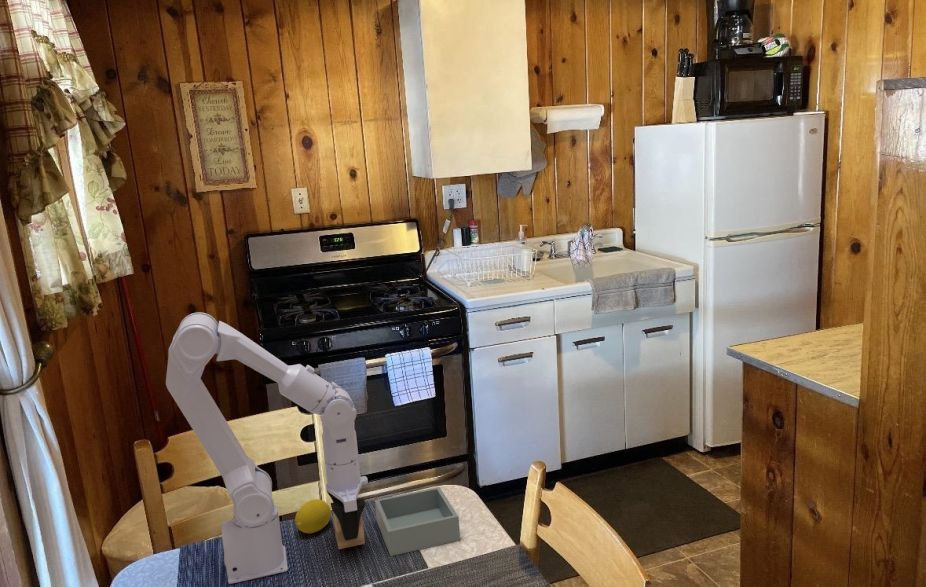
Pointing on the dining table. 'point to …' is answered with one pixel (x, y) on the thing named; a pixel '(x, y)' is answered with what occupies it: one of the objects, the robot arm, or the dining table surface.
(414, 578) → the dining table surface
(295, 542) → the dining table surface
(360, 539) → the carton
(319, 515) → the lemon
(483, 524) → the dining table surface
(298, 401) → the robot arm
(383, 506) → the tote
